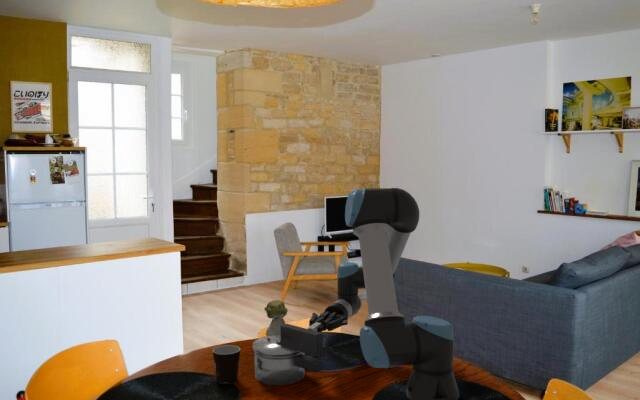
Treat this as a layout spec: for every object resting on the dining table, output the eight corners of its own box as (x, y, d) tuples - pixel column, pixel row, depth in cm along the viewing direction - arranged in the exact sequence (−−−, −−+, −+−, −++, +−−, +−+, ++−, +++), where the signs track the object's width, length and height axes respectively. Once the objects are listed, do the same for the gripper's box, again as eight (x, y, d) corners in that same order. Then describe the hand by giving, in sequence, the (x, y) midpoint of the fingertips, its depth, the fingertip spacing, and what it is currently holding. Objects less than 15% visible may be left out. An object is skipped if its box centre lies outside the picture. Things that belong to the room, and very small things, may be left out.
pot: (238, 374, 190) (237, 346, 189) (275, 360, 202) (275, 335, 202) (299, 397, 171) (299, 367, 171) (336, 381, 184) (336, 353, 183)
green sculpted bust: (313, 312, 217) (293, 306, 204) (294, 364, 214) (272, 361, 201) (284, 300, 224) (262, 293, 211) (265, 350, 221) (241, 346, 208)
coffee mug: (235, 387, 180) (234, 355, 179) (208, 384, 181) (208, 353, 181) (247, 373, 191) (247, 343, 190) (222, 371, 193) (222, 341, 192)
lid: (241, 348, 187) (241, 324, 187) (279, 335, 200) (279, 313, 200) (300, 367, 171) (299, 341, 170) (337, 351, 184) (337, 327, 183)
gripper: (356, 325, 201) (330, 347, 179) (320, 321, 206) (291, 341, 185) (356, 304, 200) (330, 323, 179) (320, 300, 206) (290, 318, 184)
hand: (310, 332), depth 182 cm, fingers closed
